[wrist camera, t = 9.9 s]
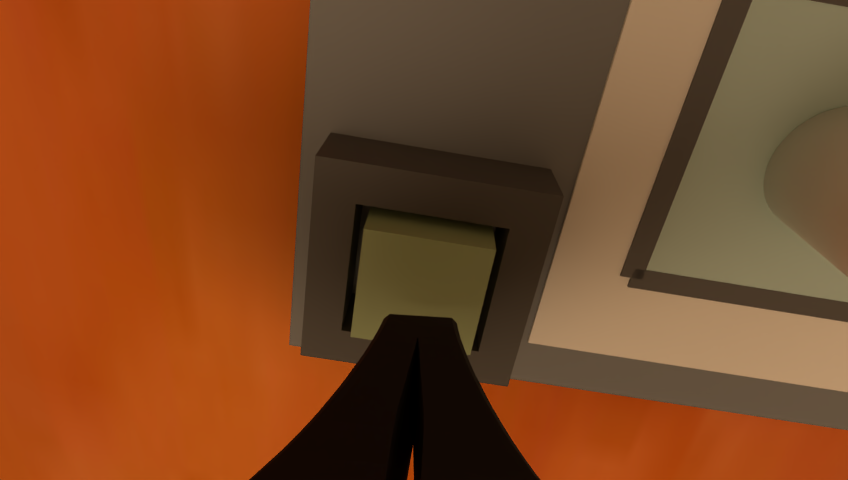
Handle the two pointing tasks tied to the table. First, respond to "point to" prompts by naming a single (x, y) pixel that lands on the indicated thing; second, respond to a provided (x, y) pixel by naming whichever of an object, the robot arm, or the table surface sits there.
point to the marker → (814, 184)
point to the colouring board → (587, 187)
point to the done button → (422, 271)
